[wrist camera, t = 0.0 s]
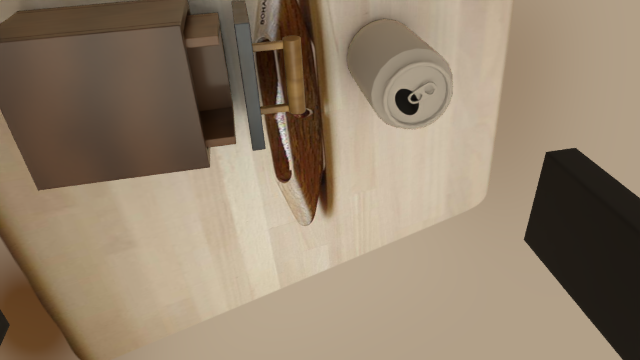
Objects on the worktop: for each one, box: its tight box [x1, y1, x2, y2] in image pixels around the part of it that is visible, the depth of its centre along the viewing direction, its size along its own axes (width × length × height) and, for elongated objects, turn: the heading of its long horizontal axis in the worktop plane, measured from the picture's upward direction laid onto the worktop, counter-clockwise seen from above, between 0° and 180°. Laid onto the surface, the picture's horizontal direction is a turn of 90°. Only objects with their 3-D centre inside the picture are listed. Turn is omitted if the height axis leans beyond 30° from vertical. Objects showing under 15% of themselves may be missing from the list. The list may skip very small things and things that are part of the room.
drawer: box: [183, 0, 306, 151], centre depth 43 cm, size 18×12×8 cm, turn 93°
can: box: [347, 19, 453, 129], centre depth 45 cm, size 8×8×12 cm
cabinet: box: [0, 0, 210, 190], centre depth 43 cm, size 15×13×10 cm
